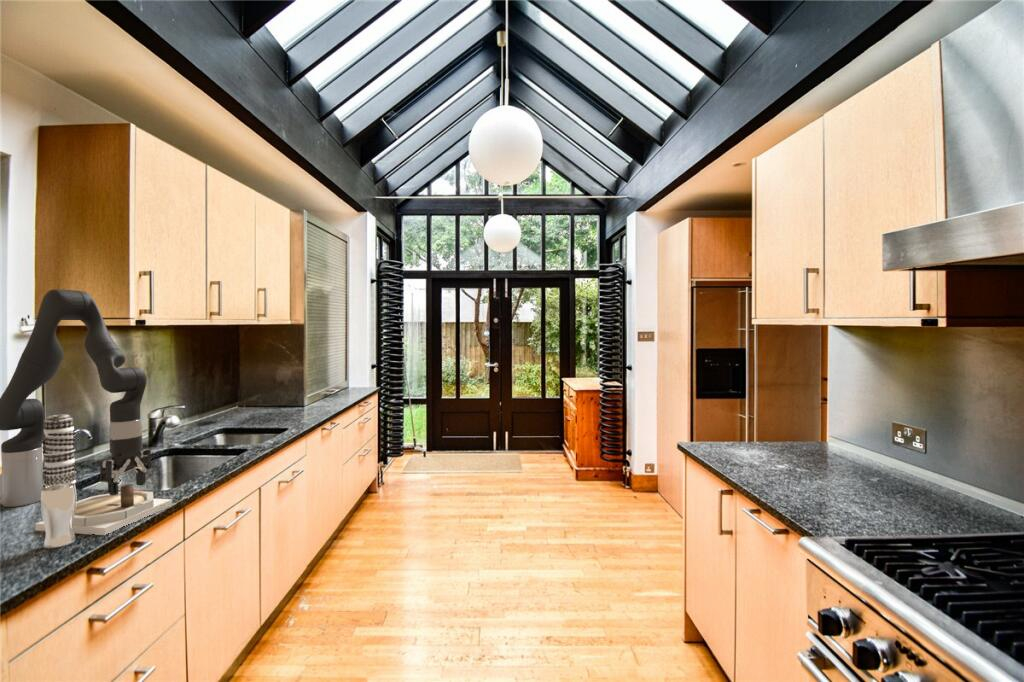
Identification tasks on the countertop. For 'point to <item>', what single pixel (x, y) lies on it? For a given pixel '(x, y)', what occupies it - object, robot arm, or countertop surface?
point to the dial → (110, 503)
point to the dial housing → (115, 515)
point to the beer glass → (58, 514)
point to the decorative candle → (59, 450)
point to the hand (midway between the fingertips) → (127, 489)
